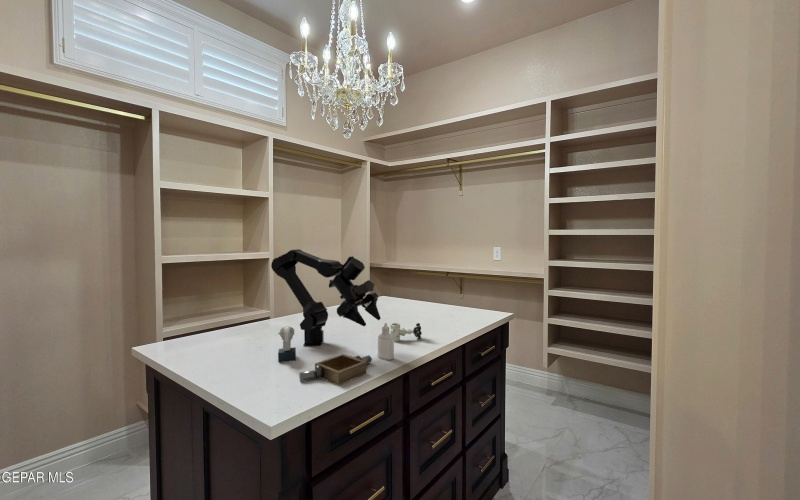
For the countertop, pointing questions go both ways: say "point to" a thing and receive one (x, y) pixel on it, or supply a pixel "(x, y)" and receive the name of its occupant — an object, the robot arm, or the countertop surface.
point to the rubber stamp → (286, 345)
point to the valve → (404, 331)
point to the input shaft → (365, 358)
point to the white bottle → (385, 344)
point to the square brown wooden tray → (342, 368)
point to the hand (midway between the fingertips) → (372, 322)
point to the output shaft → (311, 374)
